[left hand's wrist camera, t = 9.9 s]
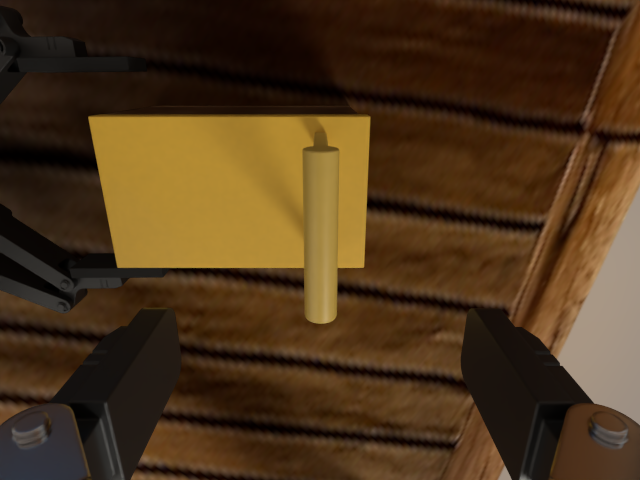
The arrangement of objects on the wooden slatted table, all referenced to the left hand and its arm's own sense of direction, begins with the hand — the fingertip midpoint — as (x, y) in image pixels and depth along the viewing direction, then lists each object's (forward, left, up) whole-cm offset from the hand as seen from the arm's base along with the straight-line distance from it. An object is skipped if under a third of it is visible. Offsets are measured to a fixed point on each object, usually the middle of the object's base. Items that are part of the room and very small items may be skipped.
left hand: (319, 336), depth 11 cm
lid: (-1, +5, -16) cm, 16 cm away
